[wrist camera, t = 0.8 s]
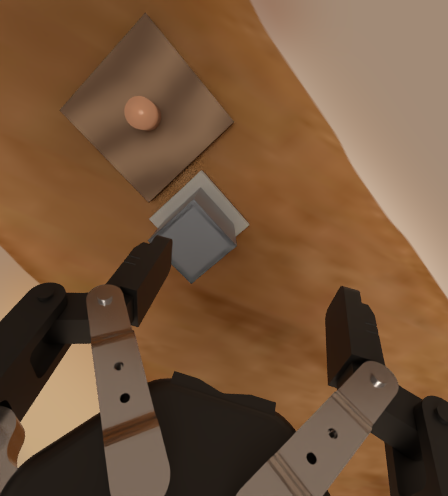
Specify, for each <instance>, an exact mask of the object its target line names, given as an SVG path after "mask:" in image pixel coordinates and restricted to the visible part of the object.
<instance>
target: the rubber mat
mask: <svg viewBox="0 0 448 496" xmlns="http://www.w3.org/2000/svg"><path fill="white" fill-rule="evenodd" d="M200 187H201V188H202V189H203V190H204V191H205V193H206V194H207V195H208V196H209V197H210V198H211V199H212V200H213V201H214V203H215V204H216V205H217V206H218V207H219V208H220V209H221V210H222V211H223V213H224V214H225V215H226V216H227V217H228V218H229V219H230V220H231V221H232V223H233V224H234V228H235V236H237V235H238V234H239V233H241V232H242V231H243V230H244V229H245V228H247V227H248V226H249V223H248V222H247V220H246V219H245V218H244V217H243V216H242V215H241V214H240V213H239V211H238V210H237V209H236V208H235V207H234V206H233V205H232V203H231V202H230V201H229V200H228V199H227V198H226V197H225V196H224V194H223V193H222V192H221V191H220V190H219V189H218V188H217V187H216V185H215V184H214V183H213V182H212V181H211V180H210V179H209V177H208V176H207V175H206V174H205V173H204V172H203V171H202V170H201V171H200V172H199V173H198V174H197V175H196V176H195V177H194V178H193V179H191V180H190V181H189V182H188V183H187V184H186V185H185V186H184V187H183V188H182V189H181V190H180V191H179V192H178V193H176V194H175V195H174V196H173V197H172V198H171V199H170V200H169V201H168V202H167V203H166V204H165V205H164V206H162V207H161V208H160V209H159V210H158V211H157V212H156V213H155V214H154V215H153V216H152V217H151V218H150V219H149V220H150V221H151V222H152V223H153V224H154V225H155V226H156V227H157V228H159V226H160V225H161V224H162V223H163V222H164V220H165V219H166V218H167V217H169V216H170V215H171V214H172V213H173V212H174V211H175V210H176V209H177V208H178V207H179V206H181V205H182V204H183V203H184V202H185V201H186V200H187V199H188V198H189V197H190V196H191V195H193V194H194V193H195V192H196V191H197V190H198V189H199V188H200Z"/></svg>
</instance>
